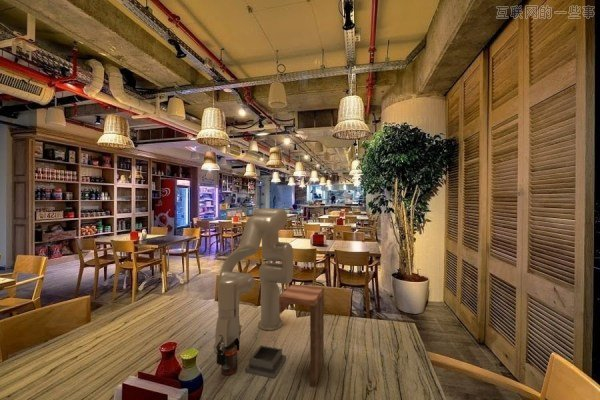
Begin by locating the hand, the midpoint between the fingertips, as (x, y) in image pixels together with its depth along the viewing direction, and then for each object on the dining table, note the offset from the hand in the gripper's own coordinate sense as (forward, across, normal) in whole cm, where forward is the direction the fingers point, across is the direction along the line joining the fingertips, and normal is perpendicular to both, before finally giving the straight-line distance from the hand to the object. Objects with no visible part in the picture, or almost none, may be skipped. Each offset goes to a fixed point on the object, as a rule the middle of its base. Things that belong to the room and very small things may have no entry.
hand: (228, 357), depth 102 cm
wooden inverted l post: (+5, -9, +26) cm, 28 cm away
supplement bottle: (+6, -1, 0) cm, 6 cm away
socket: (+5, -8, +12) cm, 15 cm away
